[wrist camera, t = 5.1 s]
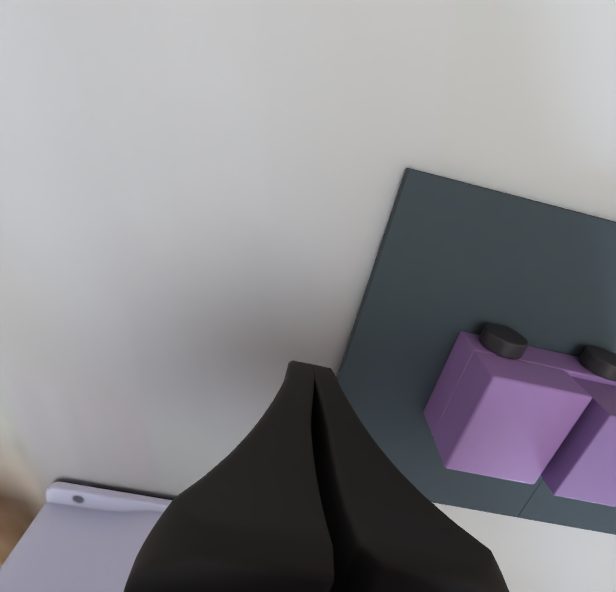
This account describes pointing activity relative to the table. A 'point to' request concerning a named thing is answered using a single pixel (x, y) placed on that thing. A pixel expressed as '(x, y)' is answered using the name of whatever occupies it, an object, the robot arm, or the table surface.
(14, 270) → the table surface
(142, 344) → the table surface
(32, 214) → the table surface
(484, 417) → the toy truck
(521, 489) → the play mat
